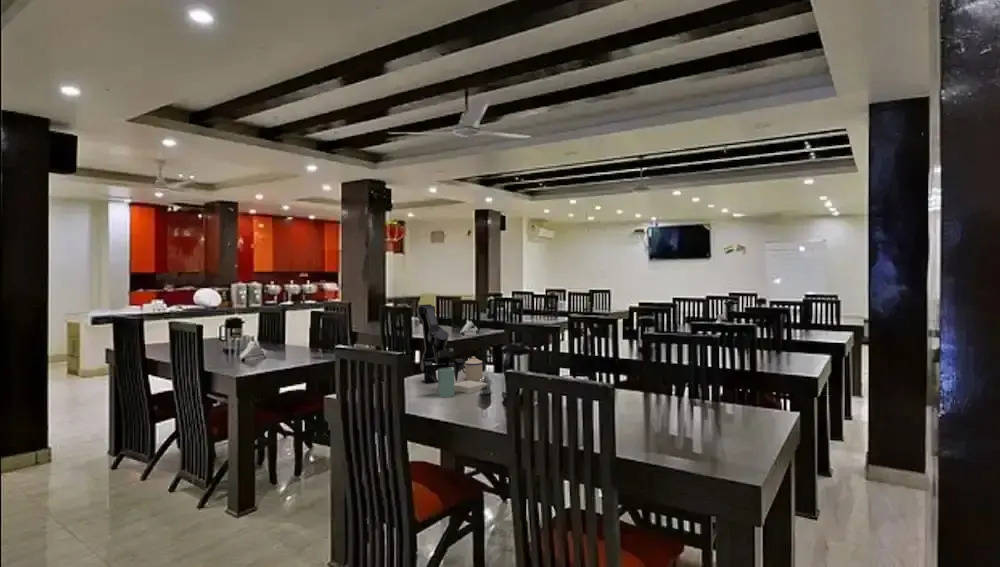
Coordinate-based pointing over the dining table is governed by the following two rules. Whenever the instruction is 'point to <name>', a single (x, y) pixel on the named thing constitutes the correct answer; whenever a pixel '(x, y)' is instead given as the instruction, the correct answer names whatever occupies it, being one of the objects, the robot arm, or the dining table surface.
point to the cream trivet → (468, 386)
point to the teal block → (446, 382)
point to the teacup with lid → (473, 369)
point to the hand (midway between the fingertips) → (446, 381)
